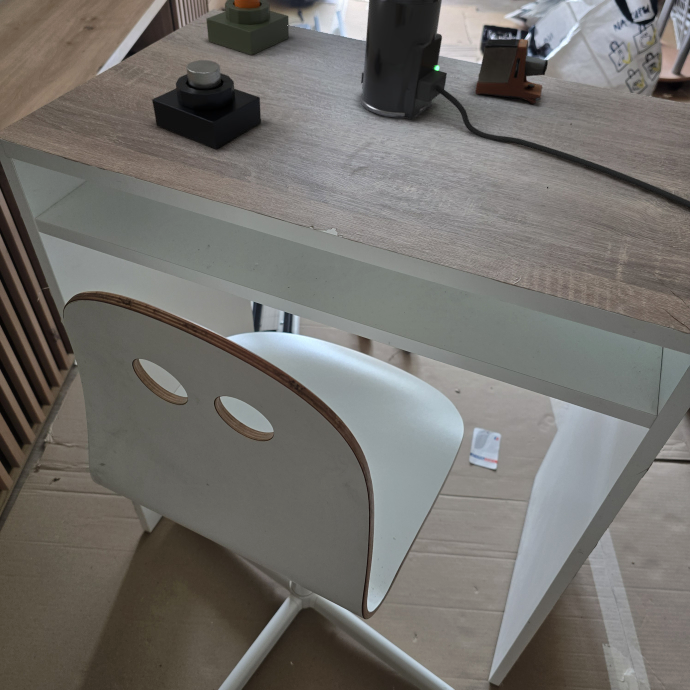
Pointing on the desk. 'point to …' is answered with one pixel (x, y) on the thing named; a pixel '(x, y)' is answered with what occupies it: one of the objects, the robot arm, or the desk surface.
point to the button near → (204, 75)
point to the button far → (247, 3)
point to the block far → (247, 27)
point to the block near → (207, 112)
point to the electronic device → (509, 70)
